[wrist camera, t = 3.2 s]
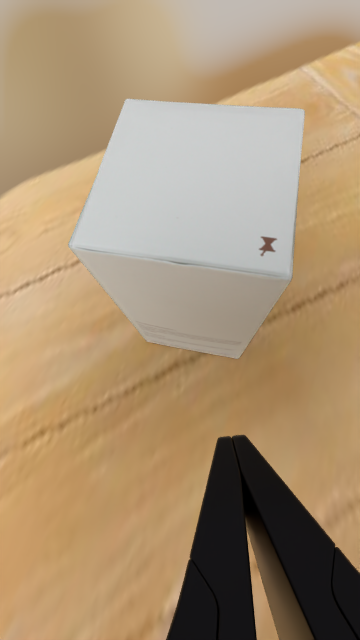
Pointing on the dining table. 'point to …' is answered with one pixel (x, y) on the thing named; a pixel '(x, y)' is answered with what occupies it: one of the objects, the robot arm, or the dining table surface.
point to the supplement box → (195, 220)
